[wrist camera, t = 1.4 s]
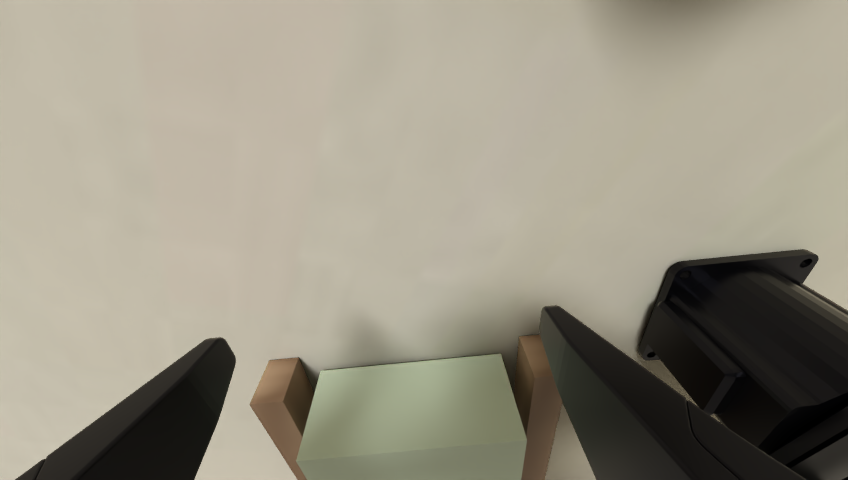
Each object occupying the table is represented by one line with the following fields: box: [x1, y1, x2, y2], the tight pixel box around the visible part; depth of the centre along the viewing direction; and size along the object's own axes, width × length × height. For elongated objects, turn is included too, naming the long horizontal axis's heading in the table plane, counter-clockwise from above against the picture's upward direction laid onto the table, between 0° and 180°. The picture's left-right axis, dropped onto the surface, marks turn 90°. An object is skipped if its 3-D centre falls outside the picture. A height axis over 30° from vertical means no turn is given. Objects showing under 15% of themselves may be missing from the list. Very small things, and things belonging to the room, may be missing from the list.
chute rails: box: [250, 335, 562, 480], centre depth 20 cm, size 15×14×2 cm
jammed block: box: [296, 354, 527, 480], centre depth 17 cm, size 10×6×4 cm, turn 95°
